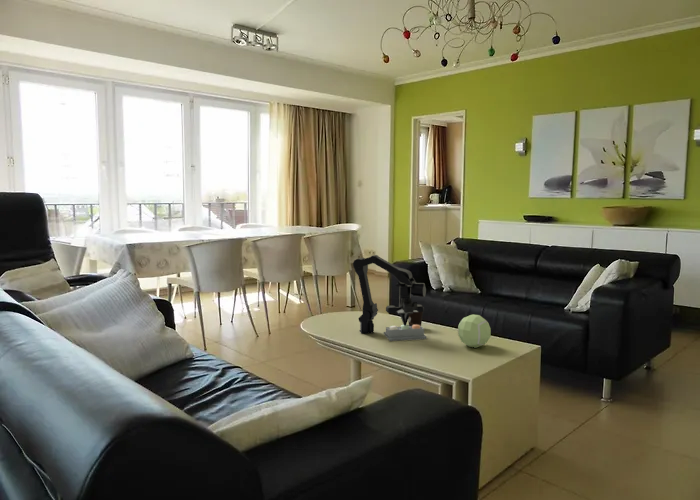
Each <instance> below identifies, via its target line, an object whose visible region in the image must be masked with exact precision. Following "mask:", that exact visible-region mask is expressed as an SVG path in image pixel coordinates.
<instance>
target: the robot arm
mask: <svg viewBox="0 0 700 500" xmlns="http://www.w3.org/2000/svg"><path fill="white" fill-rule="evenodd" d="M372 264H374V265H376V266H377V267H378V268H382V269H383V270H385V271H386V272H388V273H390V274H391V275H393V276H394V277H395V279H396V280H397V281H398V282H397V283H396V284H395V287H399V292H398V293H399V294H398V295H399V296H398V299H399V303H398V306H395V305H386V307H385V312H387V313H388V314H395V313H397V314H398V315H399V316H400V319H401V322H402V325H404V326H406V325H408V324H407V323H408V318H409V316H410V315H411V314H413V311H414V310H417V311H418V312H423V313H424V312H425V307H424V306H423V305H422V304H418V302H417V301H416V302H415V301H412V298H411V297H412V296H414V297H421V298H425V297H426V295H427V294H426V293H427V288H426V284H425V283H424V282H417V281H416V280H415V278H414V277H413V274H412V271H410V270H409V269H406V268H402V267H398V266H396V265H394V264H393V263H391V262H389V261H387V260H385V259H384V258H382V257H380V256H379V255H377V254H374V255H371V256H369V257H366V258H364V257H360V258H356V259H354V261H353V262H352V266H353V269H354V272H355V273H356V275H357V277H358V281H359V285H360V286H359V287H360V292H361V297H362V301H363V305H362V314H361V315H360V316H359V317H358V321H359V332H360V334H364V335H365V334H374V332H375V324H374V321H373V320H374V318H375V317H376V316H377V314H378V311H379V309H378V304H377V303H376V302H374V301H373V299H372V294H371V293H372V292H371V288H370V283H369V277H368V270H369V265H372ZM411 295H412V296H411Z"/></svg>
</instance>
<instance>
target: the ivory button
mask: <svg viewBox="0 0 700 500" xmlns="http://www.w3.org/2000/svg"><path fill="white" fill-rule="evenodd" d="M389 327H390V330H397V327H398V326H397V325H389Z"/></svg>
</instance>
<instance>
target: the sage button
mask: <svg viewBox="0 0 700 500" xmlns="http://www.w3.org/2000/svg"><path fill="white" fill-rule="evenodd" d="M400 327H401V329H409V324H406V326H404V324H401V325H400Z"/></svg>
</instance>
